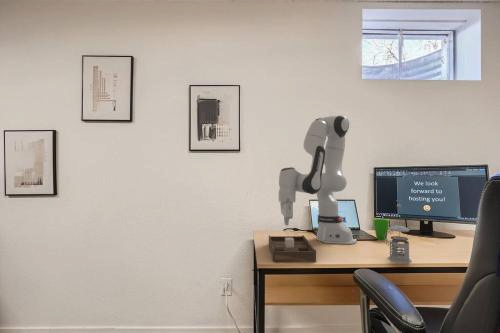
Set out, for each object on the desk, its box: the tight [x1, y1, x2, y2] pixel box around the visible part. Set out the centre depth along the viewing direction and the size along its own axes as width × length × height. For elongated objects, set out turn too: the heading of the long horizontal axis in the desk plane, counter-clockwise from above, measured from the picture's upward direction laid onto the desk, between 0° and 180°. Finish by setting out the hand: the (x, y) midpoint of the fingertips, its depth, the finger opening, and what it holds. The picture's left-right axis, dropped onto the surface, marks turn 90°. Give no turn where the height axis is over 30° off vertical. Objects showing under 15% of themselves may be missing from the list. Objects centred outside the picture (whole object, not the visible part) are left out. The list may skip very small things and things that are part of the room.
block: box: [285, 238, 294, 248], centre depth 144 cm, size 4×4×4 cm
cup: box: [372, 218, 390, 241], centre depth 169 cm, size 9×9×11 cm
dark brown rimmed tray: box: [268, 235, 317, 263], centre depth 142 cm, size 30×19×5 cm, turn 0°
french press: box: [384, 203, 413, 264], centre depth 131 cm, size 10×12×25 cm
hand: (286, 224), depth 150 cm, fingers closed
